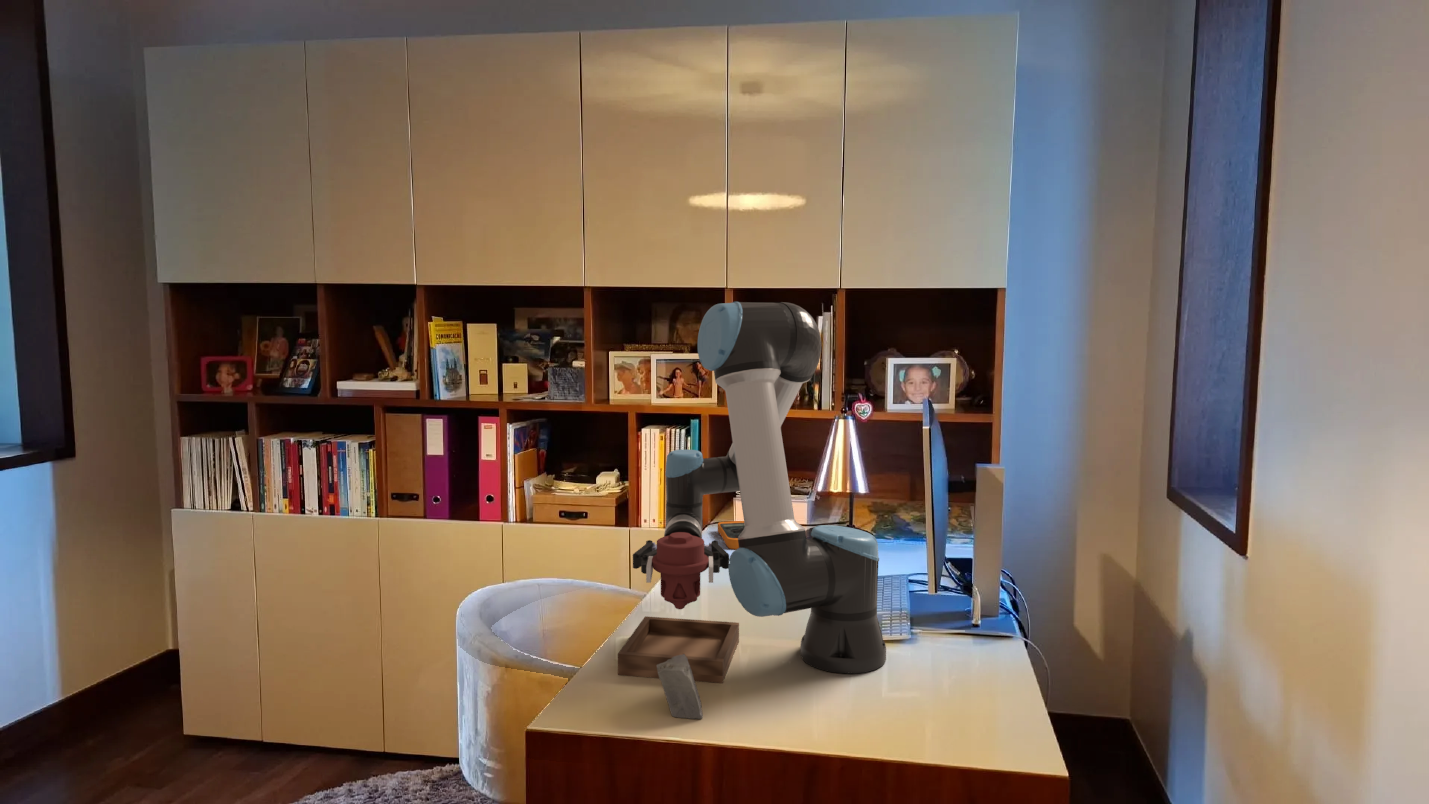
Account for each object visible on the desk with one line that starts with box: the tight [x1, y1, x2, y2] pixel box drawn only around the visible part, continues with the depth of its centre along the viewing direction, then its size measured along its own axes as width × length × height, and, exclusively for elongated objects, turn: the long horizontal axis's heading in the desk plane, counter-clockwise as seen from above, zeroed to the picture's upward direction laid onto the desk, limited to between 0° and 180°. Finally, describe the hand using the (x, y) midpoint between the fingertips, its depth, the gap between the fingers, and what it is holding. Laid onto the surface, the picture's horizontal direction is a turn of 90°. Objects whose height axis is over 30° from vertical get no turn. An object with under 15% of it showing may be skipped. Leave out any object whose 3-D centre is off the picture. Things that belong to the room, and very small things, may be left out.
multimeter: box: [717, 520, 745, 551], centre depth 232 cm, size 9×18×3 cm, turn 9°
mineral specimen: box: [657, 654, 704, 720], centre depth 135 cm, size 7×9×8 cm
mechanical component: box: [652, 532, 709, 610], centre depth 154 cm, size 12×10×10 cm
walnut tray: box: [617, 616, 740, 684], centre depth 155 cm, size 18×18×4 cm
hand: (679, 575), depth 149 cm, fingers closed on mechanical component, 10 cm apart
